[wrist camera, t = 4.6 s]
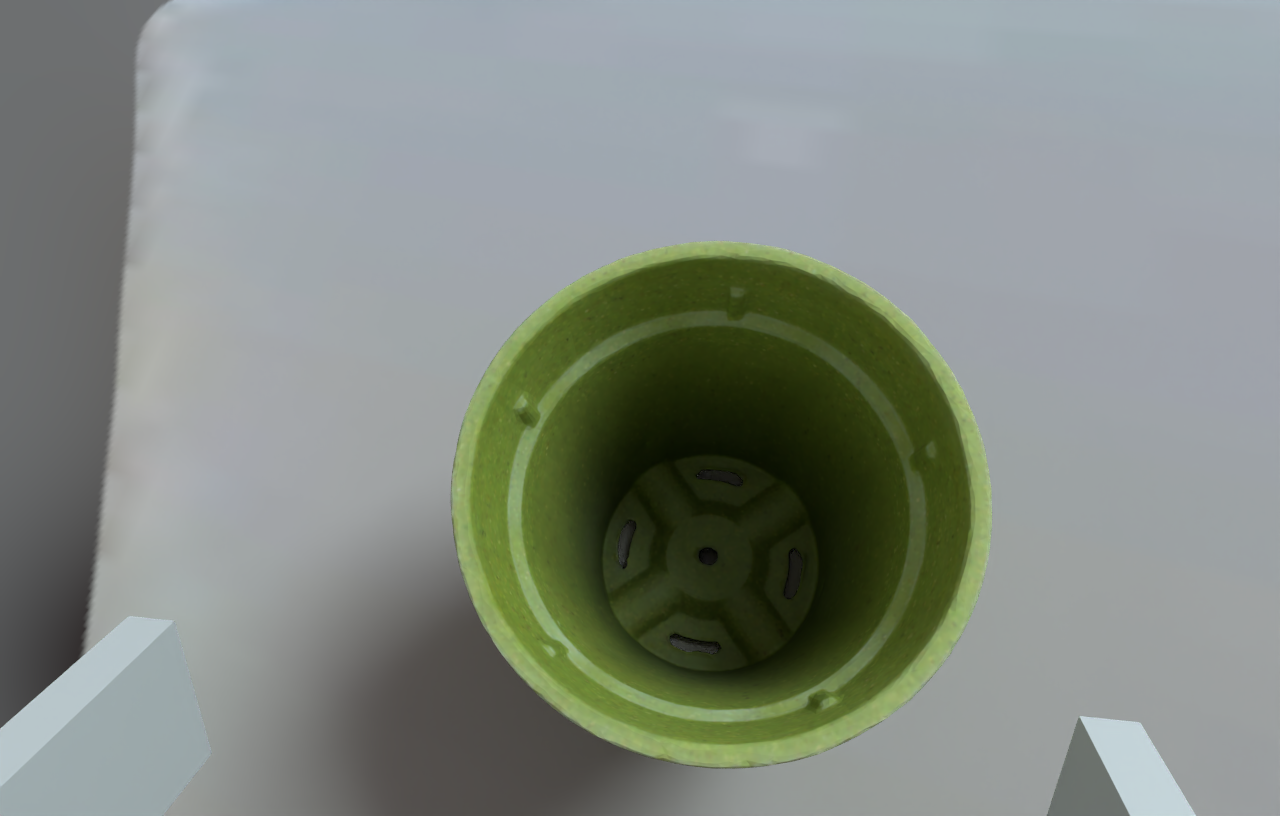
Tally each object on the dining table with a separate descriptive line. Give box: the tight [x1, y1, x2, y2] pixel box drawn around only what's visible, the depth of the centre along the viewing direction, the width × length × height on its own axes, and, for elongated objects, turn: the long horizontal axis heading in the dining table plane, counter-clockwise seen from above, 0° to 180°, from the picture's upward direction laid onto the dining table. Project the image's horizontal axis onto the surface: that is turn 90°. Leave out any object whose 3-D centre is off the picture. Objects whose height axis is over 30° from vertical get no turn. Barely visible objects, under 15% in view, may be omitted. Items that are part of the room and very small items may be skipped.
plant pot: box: [451, 241, 992, 768], centre depth 17 cm, size 9×9×9 cm
